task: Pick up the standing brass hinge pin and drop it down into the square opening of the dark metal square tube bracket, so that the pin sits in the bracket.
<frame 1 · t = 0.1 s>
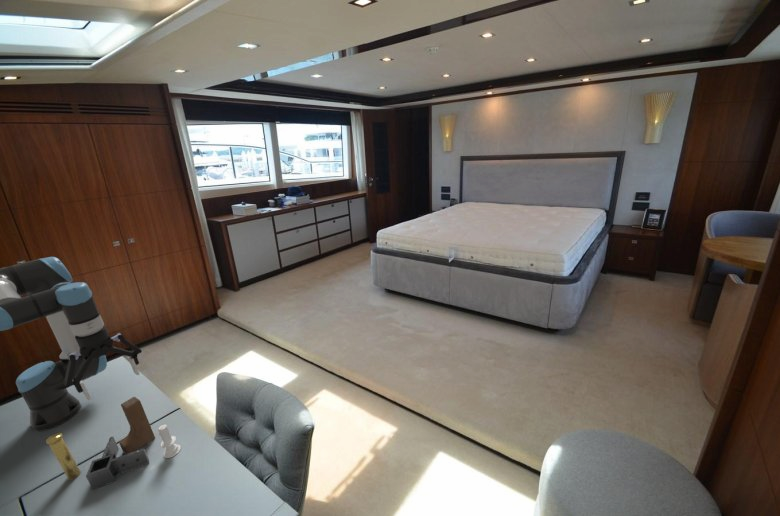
hand: (113, 385, 113), 28 cm above the table, fingers open, 13 cm apart
wooden block: (139, 445, 123), on the table
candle: (172, 452, 119), on the table
hinge pin: (74, 475, 113), on the table
square tube bracket: (107, 477, 112), on the table
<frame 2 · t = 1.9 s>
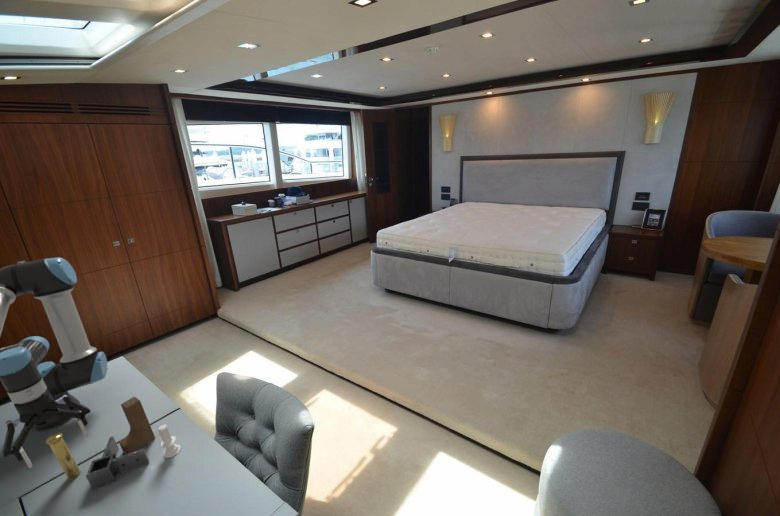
hand: (59, 448, 109), 12 cm above the table, fingers open, 13 cm apart
nothing on the table moved.
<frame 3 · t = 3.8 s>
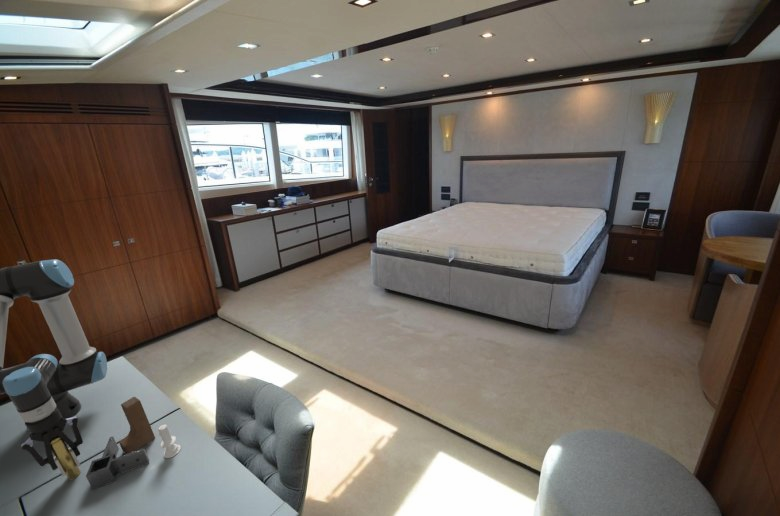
hand: (70, 468, 112), 3 cm above the table, fingers closed on hinge pin, 3 cm apart
hinge pin: (74, 475, 113), on the table, touching gripper
everything else where it was.
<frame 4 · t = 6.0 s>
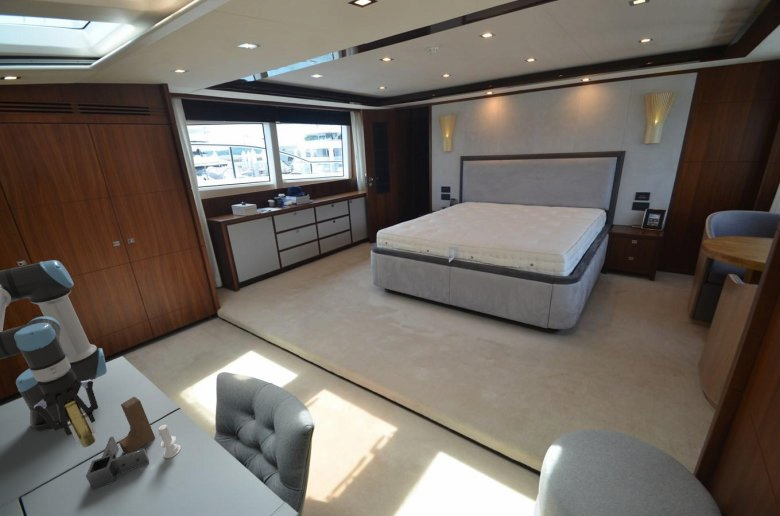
hand: (85, 435, 105), 19 cm above the table, fingers closed on hinge pin, 3 cm apart
hinge pin: (89, 442, 106), point 16 cm above the table, touching gripper
everything else where it was.
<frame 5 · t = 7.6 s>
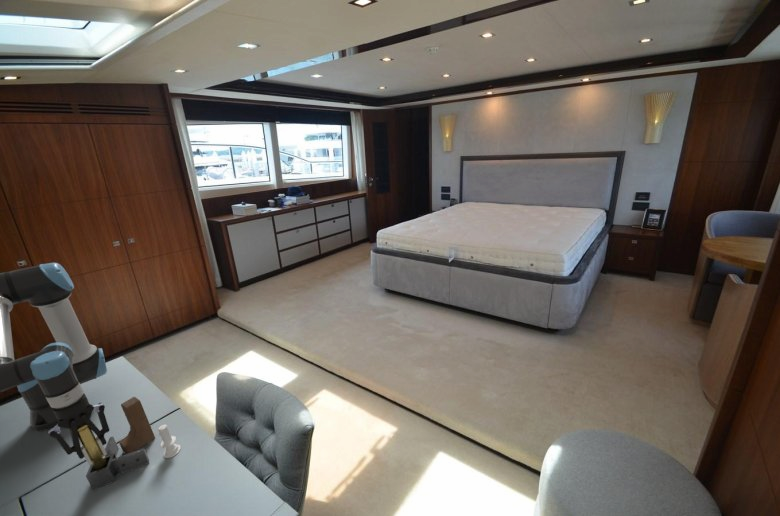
hand: (97, 457, 108), 9 cm above the table, fingers closed on hinge pin, 3 cm apart
hinge pin: (100, 464, 109), point 6 cm above the table, touching gripper
everything else where it was.
when the fingers open (8 cm above the table, at t = 8.5 s): hinge pin drops 4 cm, resting in square tube bracket.
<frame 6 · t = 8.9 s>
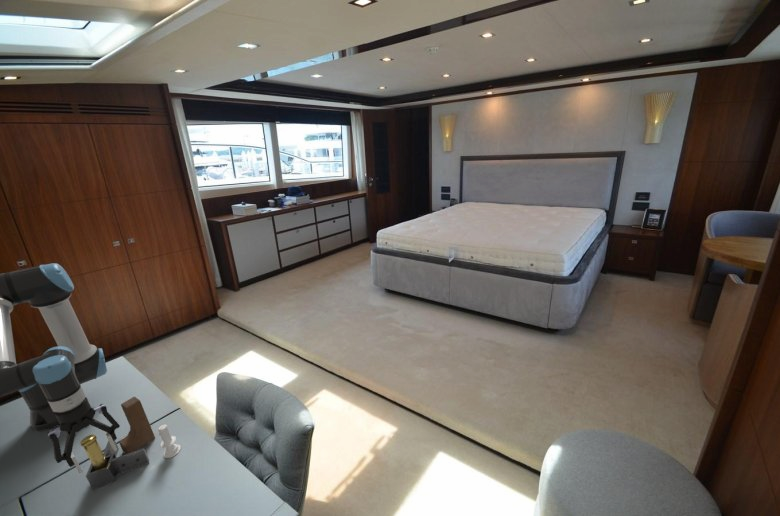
hand: (97, 459, 109), 8 cm above the table, fingers open, 8 cm apart
hinge pin: (107, 477, 112), resting in square tube bracket
everything else where it was.
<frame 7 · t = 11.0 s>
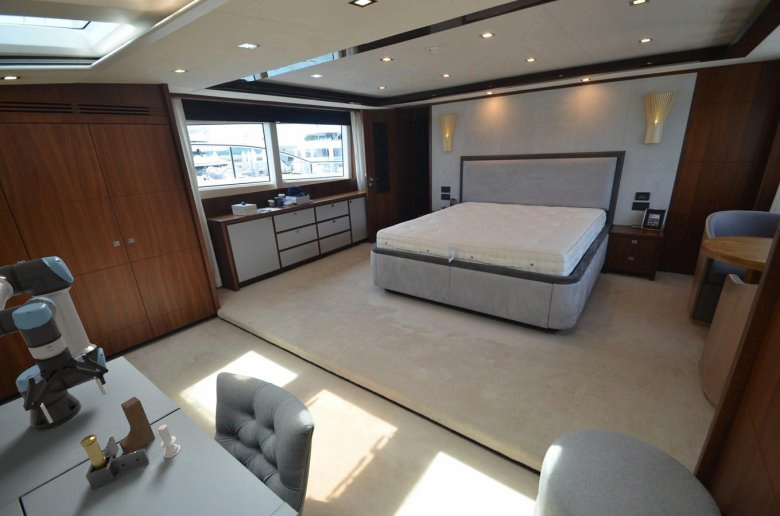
hand: (78, 406, 109), 24 cm above the table, fingers open, 13 cm apart
nothing on the table moved.
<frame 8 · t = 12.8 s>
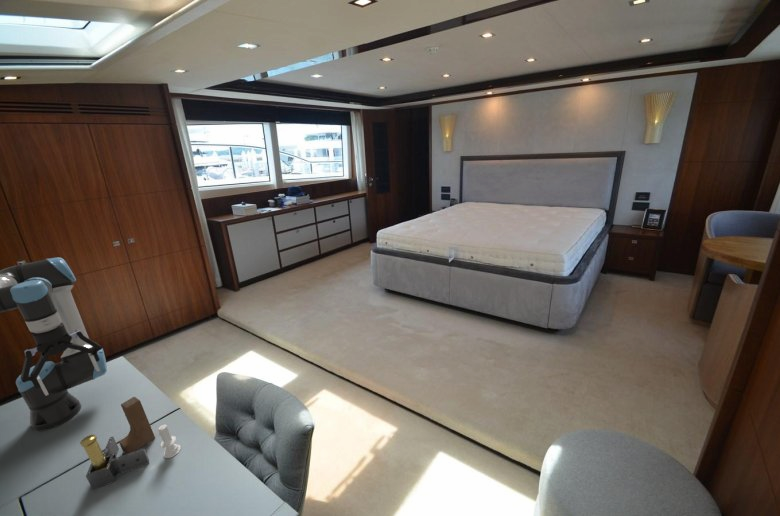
hand: (73, 381, 115), 29 cm above the table, fingers open, 13 cm apart
nothing on the table moved.
at the end: hinge pin 0.0 cm from the square tube bracket (horizontally); hinge pin resting in square tube bracket; hinge pin tilted 0° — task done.
